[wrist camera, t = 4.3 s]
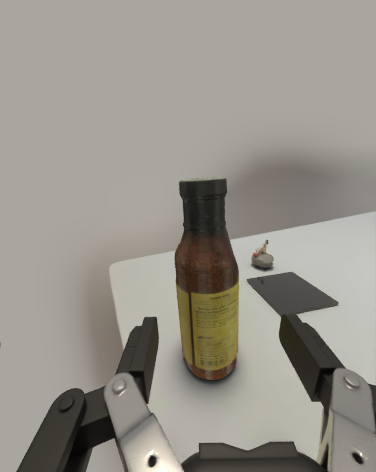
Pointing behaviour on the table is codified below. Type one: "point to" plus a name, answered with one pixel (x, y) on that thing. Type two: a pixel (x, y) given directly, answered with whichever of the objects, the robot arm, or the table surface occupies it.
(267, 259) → the figurine
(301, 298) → the slate coaster
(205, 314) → the sauce bottle
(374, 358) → the table surface
